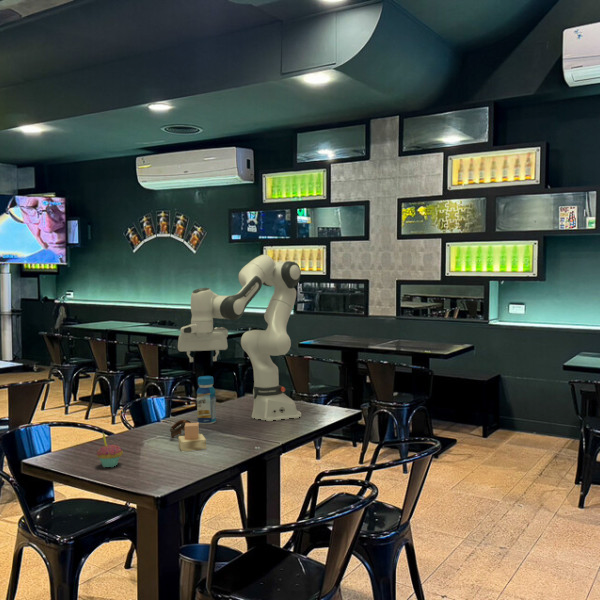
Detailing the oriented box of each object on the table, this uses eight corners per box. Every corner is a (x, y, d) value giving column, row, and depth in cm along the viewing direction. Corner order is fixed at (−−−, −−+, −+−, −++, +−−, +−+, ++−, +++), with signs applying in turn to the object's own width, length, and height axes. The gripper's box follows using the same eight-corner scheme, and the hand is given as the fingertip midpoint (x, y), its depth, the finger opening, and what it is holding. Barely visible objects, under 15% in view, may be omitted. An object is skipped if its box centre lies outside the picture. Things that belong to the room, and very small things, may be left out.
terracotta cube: (199, 435, 239) (198, 422, 239) (198, 439, 234) (198, 425, 234) (185, 436, 238) (185, 423, 238) (184, 439, 233) (184, 426, 233)
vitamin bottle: (220, 422, 273) (218, 377, 272) (202, 425, 269) (200, 379, 268) (211, 419, 280) (210, 374, 279) (193, 422, 276) (192, 376, 275)
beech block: (202, 444, 241) (201, 433, 241) (206, 450, 233) (206, 439, 233) (178, 446, 239) (178, 436, 238) (181, 453, 230) (181, 442, 230)
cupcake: (98, 470, 210) (97, 435, 209) (95, 464, 218) (94, 429, 217) (124, 467, 213) (123, 432, 213) (121, 460, 221) (120, 426, 221)
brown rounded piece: (196, 442, 245) (185, 425, 243) (175, 452, 247) (164, 435, 245) (201, 426, 257) (190, 410, 255) (181, 436, 258) (171, 420, 256)
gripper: (227, 326, 261) (228, 359, 262) (177, 328, 258) (178, 361, 259) (228, 327, 255) (229, 361, 256) (176, 329, 252) (178, 363, 252)
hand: (203, 361), depth 257 cm, fingers open, 8 cm apart
